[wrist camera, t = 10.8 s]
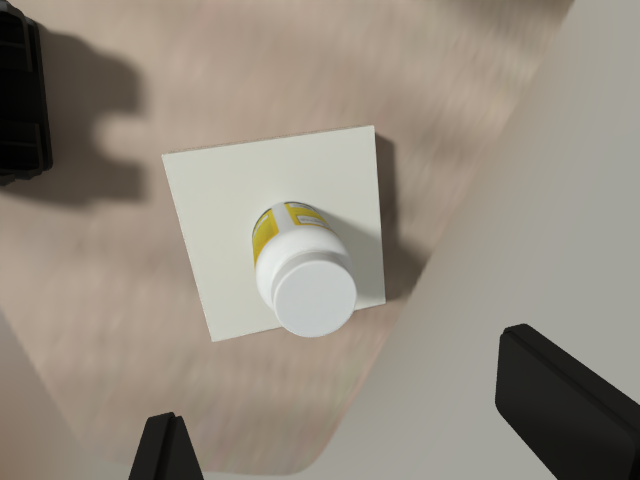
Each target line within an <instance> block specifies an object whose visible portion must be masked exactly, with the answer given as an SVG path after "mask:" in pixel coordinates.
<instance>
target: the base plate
mask: <svg viewBox="0 0 640 480" xmlns="http://www.w3.org/2000/svg"><path fill="white" fill-rule="evenodd" d="M161 156H162V159H163V163H164V167H165V170H166V174H167V178H168V181H169V185H170V189H171V192H172V196H173V200H174V203H175V207H176V211H177V214H178V218H179V222H180V226H181V229H182V233H183V237H184V240H185V244H186V248H187V251H188V255H189V259H190V262H191V266H192V270H193V273H194V277H195V281H196V284H197V288H198V292H199V295H200V299H201V303H202V306H203V310H204V314H205V317H206V321H207V325H208V328H209V332H210V336H211V339H212V342H215V341H220V340H224V339H229V338H233V337H238V336H242V335H247V334H251V333H255V332H260V331H264V330H269V329H273V328H278V327H282V324H281V323H280V322H279V320H278V319H277V317H276V314H275V312H274V311H273V310H271V309H270V308H269V307H268V306H267V305H266V303H265V302H264V301H263V299H262V297H261V296H260V294H259V291H258V289H257V285H256V280H255V269H254V257H253V248H252V233H253V228H254V225H255V223H256V221H257V219H258V218H259V216H260V215H261V214H262V213H263V212H264V211H265V210H266V209H268V208H269V207H271V206H273V205H275V204H277V203H280V202H285V201H297V202H301V203H304V204H307V205H309V206H310V207H312V208H313V209H315V210H316V211H317V212H318V213H319V214H320V215H321V216H322V217H323V218H324V220H325V221H326V222H327V223H328V224H329V226H330V227H331V228H332V229H333V230H334V231H335V233H336V234H337V235H338V236H339V237H340V238H341V240H342V241H343V242H344V244H345V245H346V247H347V248H348V250H349V252H350V255H351V257H352V260H353V266H354V276H353V279H354V281H355V284H356V288H357V302H356V306H355V309H354V310H358V309H363V308H367V307H372V306H376V305H381V304H385V303H386V299H385V284H384V268H383V253H382V238H381V223H380V208H379V193H378V178H377V163H376V148H375V133H374V125H358V126H351V127H344V128H337V129H329V130H322V131H315V132H308V133H300V134H293V135H286V136H279V137H272V138H264V139H257V140H250V141H243V142H235V143H228V144H221V145H214V146H207V147H199V148H192V149H185V150H178V151H171V152H168V153H165V154H163V155H161Z"/></svg>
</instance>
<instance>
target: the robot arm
mask: <svg viewBox="0 0 640 480" xmlns="http://www.w3.org/2000/svg"><path fill="white" fill-rule="evenodd" d="M495 404H496V407H497V410H498V411H499V413H500V414H501V415H502V417H503V418H504V419H505V420H506V421H507V422H508V424H509V425H510V426H511V427H512V428H513V429H514V430H515V432H516V433H517V434H518V435H519V436H520V437H521V438H522V440H523V441H524V442H525V443H526V444H527V445H528V446H529V448H530V449H531V450H532V451H533V452H534V453H535V454H536V455H537V457H538V458H539V459H540V460H541V461H542V462H543V464H545V466H546V467H547V468H548V469H549V470H550V471H551V473H552V474H553V475H554V476H555V477H556V478H557V480H640V405H639V404H637V403H636V402H635V401H633V400H632V399H631V398H629V397H628V396H626V395H625V394H624V393H622V392H621V391H620V390H618V389H617V388H615V387H614V386H613V385H611V384H610V383H608V382H607V381H606V380H604V379H603V378H601V377H600V376H599V375H597V374H596V373H595V372H593V371H592V370H590V369H589V368H588V367H586V366H585V365H583V364H582V363H581V362H579V361H578V360H576V359H575V358H574V357H572V356H571V355H570V354H568V353H567V352H565V351H564V350H563V349H561V348H560V347H558V346H557V345H556V344H554V343H553V342H551V341H550V340H549V339H547V338H546V337H545V336H543V335H542V334H540V333H539V332H538V331H536V330H535V329H533V328H532V327H531V326H529V325H527V324H520V325H515V326H511V327H508V328H505V330H504V332H503V334H502V335H501V336H500V344H499V356H498V369H497V382H496V395H495ZM128 480H204V479H203V475H202V472H201V469H200V467H199V464H198V461H197V458H196V455H195V452H194V449H193V446H192V443H191V441H190V438H189V435H188V432H187V429H186V426H185V423H184V420H183V418H182V416H177V417H175V415H174V413H173V412H169V413H165V414H161V415H157V416H153V417H149V418H148V419H147V422H146V424H145V428H144V431H143V434H142V437H141V440H140V444H139V447H138V450H137V453H136V456H135V460H134V463H133V466H132V469H131V473H130V476H129V479H128Z"/></svg>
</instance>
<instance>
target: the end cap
mask: <svg viewBox="0 0 640 480" xmlns="http://www.w3.org/2000/svg"><path fill="white" fill-rule="evenodd" d="M52 164H53V160H52V151H51V142H50V132H49V123H48V114H47V104H46V95H45V86H44V76H43V67H42V58H41V48H40V39H39V30H38V27H37V24H36V23H35V22H34V21H33V20H32V19H30V18H28V17H26V16H24V14H23V13H22V11H20V10H19V9H17V8H15V7H13V6H12V5H11V4H10V3H9V2H8V1H7V0H0V186H7V185H8V184H9V183H10V182H14V181H15V179H21V180H30V179H32V178H33V177H34V176H37V175H40V174H41V173H42V171H46V170H49V169H50V168H51V167H52Z"/></svg>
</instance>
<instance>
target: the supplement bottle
mask: <svg viewBox="0 0 640 480" xmlns="http://www.w3.org/2000/svg"><path fill="white" fill-rule="evenodd" d="M252 248H253V257H254V269H255V280H256V285H257V289H258V291H259V294H260V296H261V297H262V299H263V301H264V302H265V303H266V305H267V306H268V307H269V308H270V309H271V310H273V311H274V312H275V314H276V317H277V319H278V320H279V322H280V323H281V324H282V326H283V327H285V328H286V329H287V330H288V331H290V332H291V333H293V334H296V335H299V336H303V337H319V336H324V335H327V334H329V333H332V332H334V331H335V330H337V329H339V328H340V327H341V326H342V325H343V324H344V323H345V322H346V321H347V320H348V319H349V318H350V317H351V315H352V313H353V311H354V309H355V306H356V302H357V288H356V284H355V281H354V279H353V276H354V266H353V260H352V257H351V255H350V252H349V250H348V248H347V247H346V245H345V244H344V242H343V241H342V240H341V238H340V237H339V236H338V235H337V234H336V233H335V231H334V230H333V229H332V228H331V227H330V226H329V224H328V223H327V222H326V221H325V220H324V218H323V217H322V216H321V215H320V214H319V213H318V212H317V211H316V210H315V209H313V208H312V207H310V206H309V205H307V204H304V203H301V202H297V201H285V202H280V203H277V204H275V205H273V206H271V207H269V208H268V209H266V210H265V211H264V212H263V213H262V214H261V215H260V216H259V218H258V219H257V221H256V223H255V225H254V228H253V233H252Z"/></svg>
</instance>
